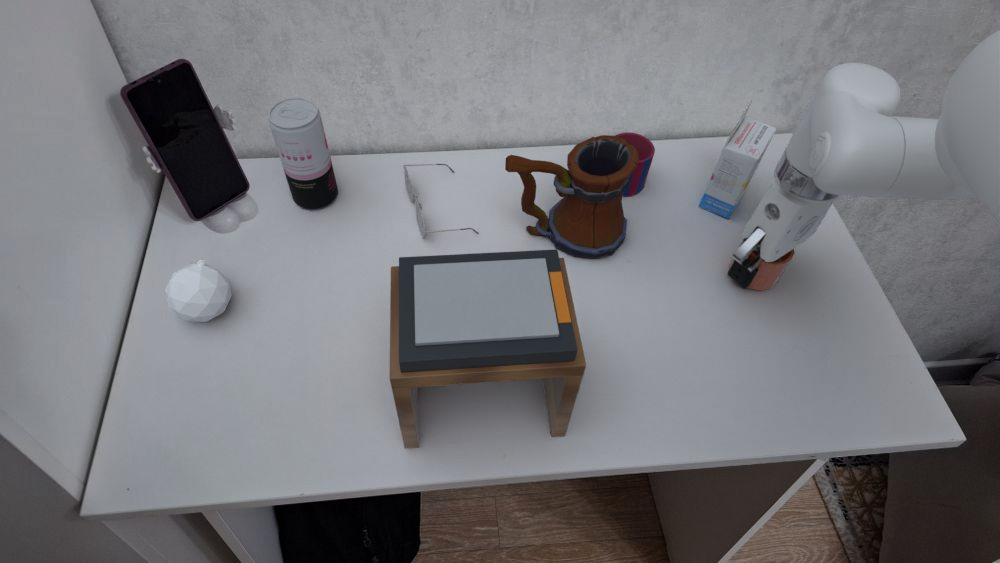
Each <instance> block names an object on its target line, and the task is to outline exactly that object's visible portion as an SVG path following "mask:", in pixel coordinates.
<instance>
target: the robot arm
mask: <svg viewBox="0 0 1000 563" xmlns="http://www.w3.org/2000/svg"><path fill="white" fill-rule="evenodd" d="M901 95H902V93H901V87H900V85H899V84H898V82H897V81H896V79H895V78H894V77H893V76H892V75H891V74H890V73H889V72H887V71H885V70H884V69H882V68H880V67H878V66H875V65H872V64H868V63H864V62H856V61H855V62H854V61H853V62H845V63H840V64H838V65H836V66H834V67H832V68H830V69H829V70H828V71H827V72H826V73H825V74H824V75H823V77H822V79H820V81H819V84H818V86H817V87H816V89H815V91H814V94H813V95H812V97H811V99H810V101H809V103H808V104H807V107H806V109H805V110H804V111H803V115H802V116H801V118H800V120H799V122H798V124H797V125H796V128H795V129H794V132H793V134H792V135H791V137H790V139H789V141H788V142H787V145H786V147H785V149H784V150H783V153H782V155H781V156H780V158H779V160H778V162H777V164H776V166H775V168H774V171H773V178H774V181H773V183H772V184H771V185H770V186H769V188H768V190H767V191H766V192H765V194H764V196H763V197H762V199H761V200H760V202H759V204H758V205H757V206H756V208H755V210H754V212H753V213H752V215H751V217H750V218H749V220H748V222H747V224H746V226H745V228H744V230H743V233H742V235H741V242H742V243H743V244H742V245H741V246H740V245H739V246H740V247H739V246H738V248H737V249H736V250H735V251H734V252H733V253H732V255H731V258H732V259H733V258H734V259H735V260H734V262H733V264H732V266H731V268H729V270H728V272H727V276H728V278H730V279H731V280H733V281H734V282H735V283H736V284H737V285H738V286H739V287H740V288H741V289H743V290H747V289H749V288H748V287H749V285H750V284H751V282H752V280H753V279H754V277H755V275H756V273H757V272H758V269H757V267H758V265H759V264H760V263H761V262H762V260H765V261H766V262H773V261H775V260H777V259H779V258H780V257H782V256H783V255H785V254H786V253H788V252H789V251H791V250H792V249H794V250H795V249H796V248H797V247H798V246H800V245H801V244H803V243H804V242H806V241H807V240H808V239H810V238H812V236H813V235H814V234H815V233H816V232H817V230H818V228H819V227H820V225H821V224H822V222H823V220H824V219H825V217H826V215H827V214H828V212H829V210H830V208H831V207H832V205H833V203H834V201H836V199H837V198H839V196H849V197H865V198H868V197H869V198H891V199H893V198H894V199H910V200H919V201H920V200H923V201H959V200H960V201H961V200H962V201H963V200H978V201H979V202H980V204H981V205H982V206H983V207H984V209H985V210H986V211H987V213H988V214H989V216H990V217H991V218H992V219H993V221H994V222H995V223H996V225H997V226H998V227H999V228H1000V29H999V30H997V31H995V32H994V33H992V34H990V35H989V36H988V37H986V38H985V39H984V40H982V41H981V42H980V43H978V44H977V45H976V46H975V47H974V48H973V49H972V50H971V51H970V52H969V53H968V54H967V55H966V56H965V58H964V59H963V60H962V61H961V63H960V64H959V66H958V67H957V68H956V70H955V71H954V73H953V74H952V76H951V79H950V80H949V82H948V85H947V86H946V88H945V91H944V96H943V99H942V103H941V113H940V115H939V116H938V118H929V117H928V118H927V117H913V116H909V117H908V116H896V115H895V116H893V114H894V112H895V111H896V109H897V108H898V106H899V104H900V101H901V97H902V96H901ZM760 243H761V246H760V245H759V244H760ZM753 250H754V251H755V252H756V253H757V254H759V255H758V256H757V258H756V259H755V260H754V261H752V260H751V259H750V258H749V257H748V256H749V255H750V253H751V252H752V251H753ZM992 563H1000V558H998V559H997V560H995V561H993V562H992Z"/></svg>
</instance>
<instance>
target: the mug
mask: <svg viewBox="0 0 1000 563" xmlns="http://www.w3.org/2000/svg"><path fill="white" fill-rule="evenodd" d="M639 155H640V154H639V152H638V151H637V149H636V148H635V146H633V145H630V144H629V143H628V142H627V140H624V139H622V138H620V137H618V136H615V135H607V134H602V135H598V136H592V137H589V138H587V139H585V140H584V141H581V142H579V143H577V144H576V145H575V146H573V148H572V149H571V150H570V151H569V153H567V158H566V159H567V160H566V166H567V168H566V167H564V166H562V165H561V164H558V163H555V162H552V161H547V160H539V159H530V158H527V157H523V156H519V155H515V154H510V155H507V156H506V157H505V165H504V166H505V168H504V170H505V171H506V172H507V173H517V174H518V175H519V177H520V180H521V182H522V185H523V191H522V195H521V199H520V206H521V209H522V212H523V213H524V214H526V215H528V216H530V217H533V218H535V219H536V220H537V221H536V222H535V225H534V226H533V225H527V226H526V227H525V230H526V232H527V233H528V234H529V235H531V236H541V235H543V236H545V237H549V238H550V240H551V242H552V243H553V245H554V248H556V249H557V250H560V251H562V252H564V253H566V254H569V255H570V256H573V257H575V258H588V259H598V258H599V259H600V258H603V257H610V256H613V254H614V253H615V252H617V250H618V249H619V248H620V247H621V246H622V245H623V244H624V242H625V241H626V237H627V228H628V219H627V218H626V217H625V213H624V208H623V202H622V201H623V197H624V196H623V191H624V190H625V188H626V187H627V186H628V185H629V177H630V176H631V174H632V173H633V172H634V170H635V169H636V168H637V165H638V164H639ZM532 173H543V174H550V175H555V176H554V177H553V178H554V179H553V187H555V191H556V193H557V195H558V196H559V197H561V198H560V200H559V201H557V202H556V204H554V205H553V206H552V207H551V208H550V209H549V212H548V215H547V213H546V212H545V211H544V210H543V209H542V208H541V207H540V206H538V205H537V204H535V200H536V194H537V182H536V179H535V177H534V175H533V174H532Z"/></svg>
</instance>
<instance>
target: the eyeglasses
mask: <svg viewBox="0 0 1000 563" xmlns="http://www.w3.org/2000/svg"><path fill="white" fill-rule="evenodd" d="M420 166H446V167H447V168H448V169H449V170H450V171H451V172H452V173H453V174H455V171H454V170H453V169H452V167H450V166H449V165H448V164H446V163H425V164H424V163H422V164H421V163H419V164H403V166H402V167H403V169H404V170H403V171H404V183H405V190H406V193H407V196H408V199H409V201H410V202H411V203H413V200H414V202H415V203H414V204H415V216H416V217H415V218H416V224H417V227H418V231H419V233H420V236H421V239H423V240H424V239H425V236H426V235H425V234H435V233H443V232H444V233H445V232H453V231H455V232H456V231H465V230H466V231H467V230H472V231H473V232H474V233H475V234H477V235H478V234H479V232H478V231H477V230H476V229H474V228H472V227H467V228H457V229H443V230H441V229H440V230H426V224H425V220H424V217H423V214H422V209H423V203H422V202H418V197H419V192H414V191H415V190H414V187H413V183H412V181H411V178H410V175H409V171H408V169H407V167H420Z"/></svg>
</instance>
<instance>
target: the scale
mask: <svg viewBox="0 0 1000 563" xmlns="http://www.w3.org/2000/svg"><path fill="white" fill-rule="evenodd" d="M559 258H560V256H559V252H558V248H556V249H536V250H535V249H534V250H520V251H519V250H518V251H517V250H516V251H500V252H499V251H498V252H497V251H496V252H478V253H458V254H440V255H439V254H438V255H420V256H419V255H418V256H399V257H398V266H399V366H400V371H401V373H405V372H420V371H435V370H450V369H464V368H479V367H494V366H509V365H524V364H538V363H553V362H568V361H575V358H576V354H577V350H578V349H577V345H576V340H575V335H574V330H573V325H572V320H571V315H570V310H569V305H568V300H567V295H566V290H565V285H564V280H563V275H562V270H561V266H560V261H559Z"/></svg>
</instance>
